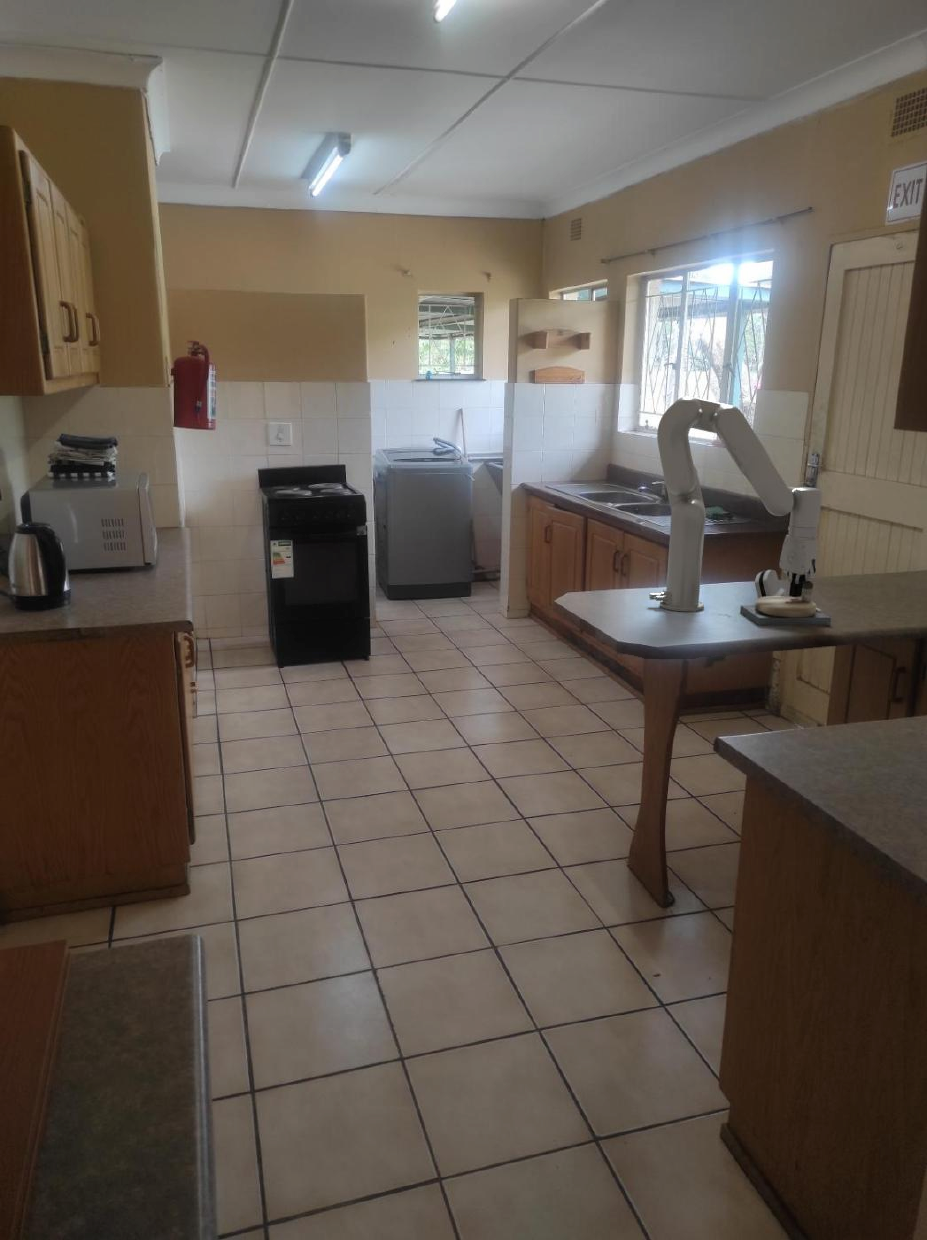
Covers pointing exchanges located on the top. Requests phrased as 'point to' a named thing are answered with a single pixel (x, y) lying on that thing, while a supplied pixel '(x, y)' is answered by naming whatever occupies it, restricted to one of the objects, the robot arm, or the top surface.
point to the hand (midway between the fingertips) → (795, 596)
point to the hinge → (768, 584)
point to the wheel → (788, 604)
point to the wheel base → (783, 618)
